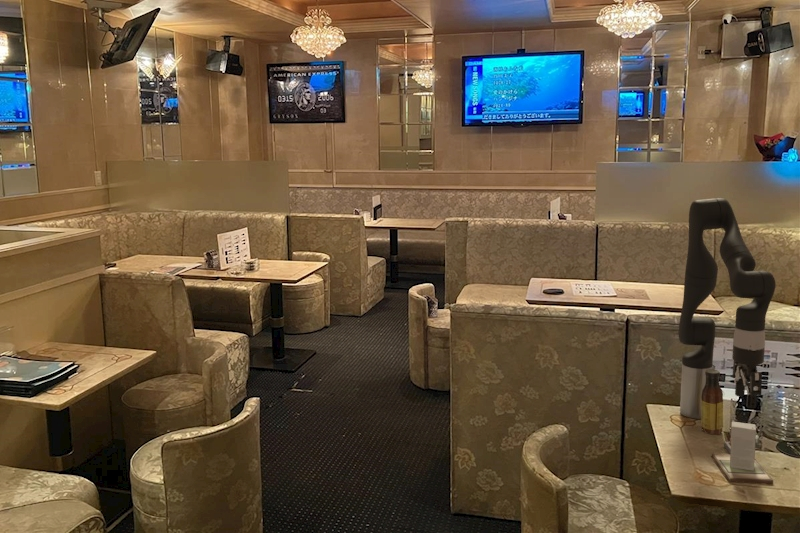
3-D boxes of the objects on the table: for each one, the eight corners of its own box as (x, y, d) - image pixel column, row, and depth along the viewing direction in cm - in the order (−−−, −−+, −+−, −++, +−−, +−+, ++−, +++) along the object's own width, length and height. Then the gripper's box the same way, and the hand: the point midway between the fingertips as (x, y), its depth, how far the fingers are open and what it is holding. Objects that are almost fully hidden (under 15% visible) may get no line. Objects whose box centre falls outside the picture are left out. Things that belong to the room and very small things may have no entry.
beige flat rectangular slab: (711, 456, 192) (711, 453, 192) (751, 458, 191) (752, 454, 191) (729, 482, 178) (729, 478, 178) (773, 483, 176) (773, 479, 176)
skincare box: (753, 465, 184) (756, 424, 182) (754, 471, 181) (756, 430, 179) (729, 461, 187) (731, 420, 185) (729, 467, 183) (731, 426, 181)
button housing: (723, 447, 198) (724, 441, 198) (745, 448, 197) (745, 442, 197) (730, 456, 192) (731, 450, 192) (752, 457, 191) (753, 451, 191)
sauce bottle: (718, 427, 212) (721, 367, 209) (725, 435, 206) (729, 374, 203) (696, 427, 213) (699, 367, 210) (703, 435, 207) (706, 374, 204)
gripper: (725, 336, 186) (721, 392, 189) (743, 352, 172) (740, 411, 175) (753, 337, 185) (750, 392, 188) (774, 352, 171) (770, 412, 174)
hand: (745, 401), depth 181 cm, fingers open, 8 cm apart
